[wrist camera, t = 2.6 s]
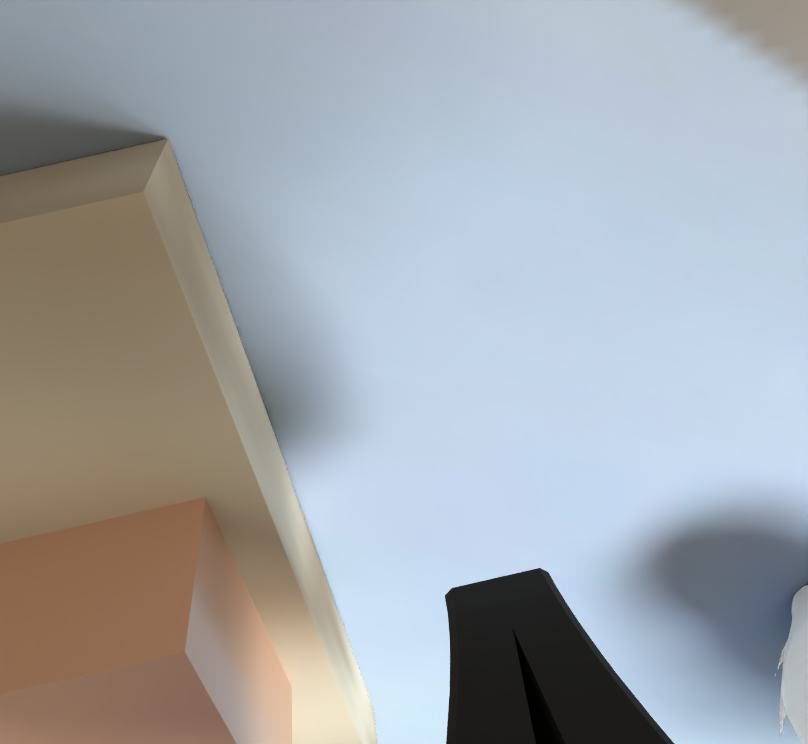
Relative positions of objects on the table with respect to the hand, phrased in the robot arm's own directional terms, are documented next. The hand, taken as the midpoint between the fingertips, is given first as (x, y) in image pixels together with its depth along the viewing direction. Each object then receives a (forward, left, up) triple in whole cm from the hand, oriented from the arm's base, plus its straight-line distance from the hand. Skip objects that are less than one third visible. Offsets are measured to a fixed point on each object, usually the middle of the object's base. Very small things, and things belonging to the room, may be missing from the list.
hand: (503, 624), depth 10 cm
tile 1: (0, +6, -1) cm, 6 cm away
